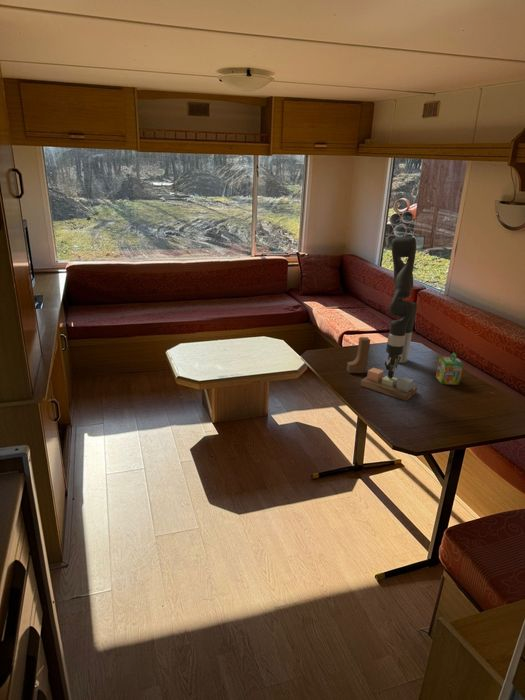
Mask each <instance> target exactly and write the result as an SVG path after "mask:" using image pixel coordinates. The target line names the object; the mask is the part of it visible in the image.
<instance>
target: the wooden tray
mask: <svg viewBox="0 0 525 700" xmlns="http://www.w3.org/2000/svg"><path fill="white" fill-rule="evenodd" d="M384 377H385V376H384V375H383V378H384ZM381 382H382V380H381V381H380V382H378V383H377V382H374V381H371V380H368V379H367V376H365V377H364V378H362V379H361V380H360V386H361V387H364V388H366V389H369V390H373V391H376V392H379V393H381V394H384V395H387V396H391V397H393V398H397V399H399V400H401V401H404V402H407V401H408V400H410V399H411V398H412V397H413V396H414V395H416V394H417V392H418V386H416V385H413V386H412V390H411V391H409V392H405V391H402V390H399V389H396V386H397V385H396V386H394V387H389V386H386V385H383V384H381Z"/></svg>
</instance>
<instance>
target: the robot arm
mask: <svg viewBox="0 0 525 700" xmlns="http://www.w3.org/2000/svg"><path fill="white" fill-rule="evenodd" d="M391 240H392V241H391V246H390V247H391V256H392V263H393V285H394V287H393V289H394V291H393V295H392V299H391V301H390V304H389V307H388V312H389V315H391V316H393V317H398V318H400V319H396V320H395V319H394V320H392V321H391V322H390V326H389V327H390V328H389V333H388V337H387V343H386V350H385V351H386V353H387V354H388V356H387V361H385V362H384V366H385V369H386V370H387V375H388V378H393V377H394V373H395V370H396V369H397V368H398V366H399V364H406V363H408V360H409V359H408V358H409V353H410V346H411V342H412V335H413V330H414V324H415V320H416V315H417V310H418V304H417V303H416V302H415V301H414V302H413V301H411V300H410V301H409V300H404V299H407V298H409V297H410V295H411V290H412V289H413V287H414V273H413V270H414V266H415V260H416V255H417V253H416V252H417V241H416V237H415V236H403V237H401V236H399V237H398V236H397V237H394V238H393V239H391ZM402 258H407V260H406V262H405V263H404V261H403V259H402Z"/></svg>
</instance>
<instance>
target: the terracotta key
mask: <svg viewBox="0 0 525 700" xmlns="http://www.w3.org/2000/svg"><path fill="white" fill-rule="evenodd" d="M383 376H384V369H379V368H376V367H372V368H370V369H368V371H367V376H366V377H367V379H368V380H371V381H374V382H377V383H378V382H380V381H381V380H382V378H383Z"/></svg>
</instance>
